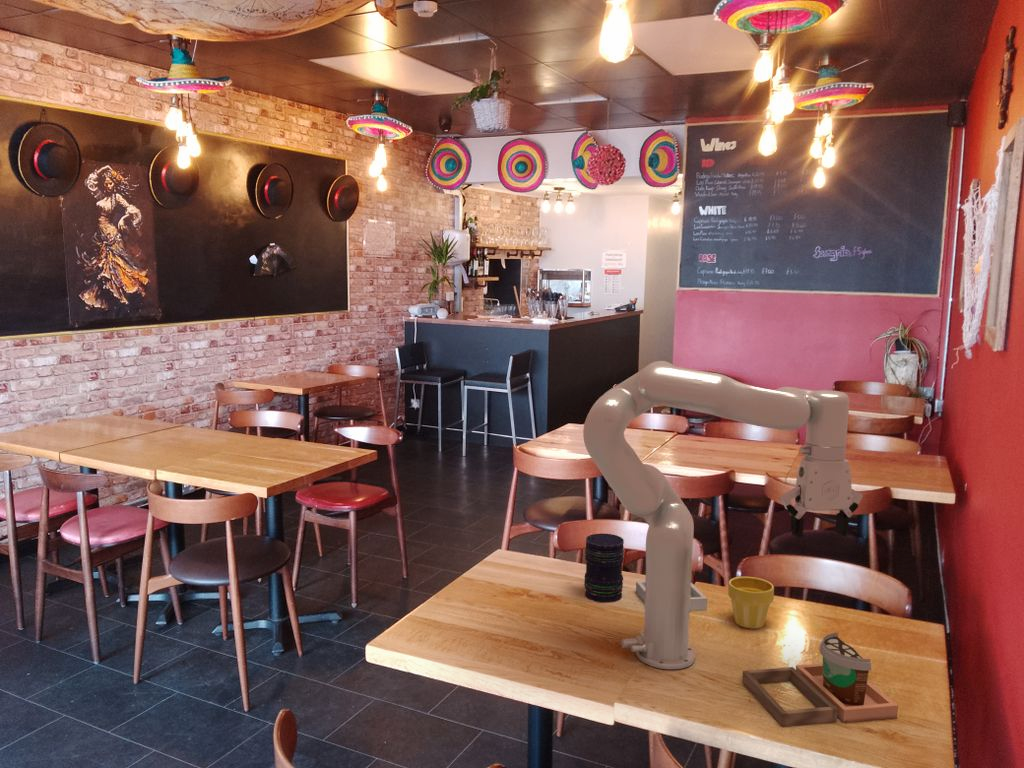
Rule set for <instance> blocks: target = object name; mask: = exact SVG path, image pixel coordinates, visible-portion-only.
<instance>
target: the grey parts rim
mask: <svg viewBox="0 0 1024 768" xmlns="http://www.w3.org/2000/svg"><path fill="white" fill-rule="evenodd" d="M645 581H646V580H638V581H636V582H635V593H636V594H637V596H638V597H639V598H640V599H641V601H642V602H643V603H644V604H645V588H646V586H645ZM690 594H691V596H692V598H690V612H693V611H707V610H708V597H707V596H705V594H704V593H703V592H702V591H701V590H699V589H698V588H697V587H696V585H694V583H692V582H691V592H690Z"/></svg>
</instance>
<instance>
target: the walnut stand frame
mask: <svg viewBox="0 0 1024 768" xmlns="http://www.w3.org/2000/svg"><path fill="white" fill-rule="evenodd" d="M787 682H790V683H791V684H792V685H793V686H795V688H796V689H798V691H800V693H801V694H803V695H804V696H805V697H806V698H807V699H808V700H809V701H810V703H812V704H813V706H815V707H812V708H809V707H808V708H802V709H801V708H799V709H789V710H788V709H787V710H786V709H784V708H783V707H782V706H781V705H780V703H779V702H778V701H776V699H775V698H774V697H773V696H772V695H771V694H770V693H769V692H768V691H767V690H766V689H765V687H763V685H764V684H773V683H775V684H776V683H787ZM741 683H742V685H744V687H745V688H746V689H747V690H748V691H749V692H750V693H751V695H753V697H755V699H756V700H757V701H758V702H759V703H760V704H761V705H762V706H763V708H764V709H766V711H767V713H769V714H770V715H771V716H772V718H773V719H774V720H775V721H776V722H777V723H778V724H779V725H780V726H781V728H782V727H783V728H784V727H793V726H795V727H797V726H804V725H805V726H807V725H815V724H816V725H817V724H825V723H827V724H829V723H837V722H838V717H837V714H838V709H837V708H836V707H835V706H834V705H833V704H832V703H831V702H830V701H829V700H828V699H826V698H825V697H824V696H823V695H822V694H821V693H820V692H819V691H818V690H817V689H816V688H815V687H814V686H813V685H812V684H810V683H809V682H808V681H807V680H806V679H805V678H804V677H803V676H802V675H801V674H800V673H799V672H798V671H797V670H796V668H795V667H794V666H791V667H788V666H787V667H777V668H776V667H775V668H765V669H751V670H749V669H748V670H742V677H741Z"/></svg>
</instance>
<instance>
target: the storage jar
mask: <svg viewBox="0 0 1024 768" xmlns="http://www.w3.org/2000/svg"><path fill="white" fill-rule="evenodd" d="M624 541H625V540H624V538H623V537H622V536H619V535H617V534H611V533H593V534H590V535H587V536H586V538H585V550H584V553H585V555H584V558H585V562H586V563H585V565H586V566H585V568H586V569H585V573H584V584H583V585H584V596H585V597H586V599H588V600H590V601H592V602H596V603H601V604H602V603H604V604H605V603H606V604H608V603H615V602H618V601H620V600H622V598H623V593H622V592H623V588H624V581H623V580H624V575H623V563H624V556H625V555H624V553H625V551H624V550H625V549H624V543H625V542H624Z"/></svg>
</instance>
